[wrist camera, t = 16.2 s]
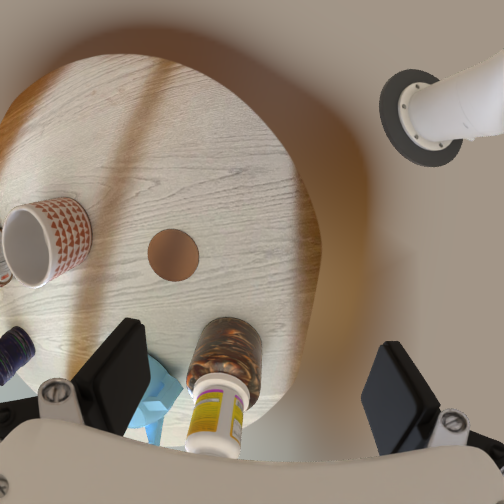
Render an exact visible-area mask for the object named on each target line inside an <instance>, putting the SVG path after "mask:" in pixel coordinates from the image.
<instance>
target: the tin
mask: <svg viewBox="0 0 504 504" xmlns="http://www.w3.org/2000/svg"><path fill="white" fill-rule="evenodd" d="M12 276H13V274H12V272H11V271H10V269H9V267H8V265H7V263H6V260H5V257H4V253H3V248H2V230H1V228H0V287H2V286H4V285H6V284H8V283H9V282H10V280H11V279H12Z"/></svg>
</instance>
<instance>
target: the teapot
mask: <svg viewBox="0 0 504 504" xmlns="http://www.w3.org/2000/svg"><path fill="white" fill-rule="evenodd" d="M148 359H149V367H150V373H151V380H150V384H149V386H148V388H147V390H146V392H145V394H144V396H143V398H142V400H141V401H140V403H139V405H138V407H137V409H136V411H135V413H134V415H133V417H132V419H131V421H130V423H129V425H128V427H127V428H141V427H144V426H145V429H146V433H147V437H148V440H149V444H152V445H156V446H160V438H161V432H162V425H163V419H164V415H165V414H166V413H167V412H168V411H169V410H170V408H171V407H172V405H173V403H174V401H175V400H176V398H177V397H178V396H179V394H180V393H181V391H182V390H183V389H184V388H183V387H182V386H181V384H180V383H179V382H178V380H177V379H175V378H174V377H172V376H170V375H169V373H168V372H167V371H166V369H165V368H164V367H163V366H162V365H161V364H160V363H159V362H158V361H157V360H155V359H154V358H153V357H151V356H149V355H148Z"/></svg>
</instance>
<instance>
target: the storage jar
mask: <svg viewBox="0 0 504 504" xmlns="http://www.w3.org/2000/svg"><path fill="white" fill-rule="evenodd" d="M34 355H35V348H34V345H33V342H32V340H31V339H30V337H29V336H28V334H27V333H26V332H25V331H24V330H23V329H22V328H20V327H18V326H15V327H13V328H12V329H11V330H9V331H7V332H6V333H5V334H4V335H3V336H2V337H1V338H0V386H3V385H4V384H5V383H6V382H7V381H8V380H10V378H12V376H14V374H15V372H16V371H17V370H18V369H19V368H20V367H22V366H24V365H25V364H26V363H27V362H28V361H29V360H30V359H31V358H32V357H33V356H34Z"/></svg>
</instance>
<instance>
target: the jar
mask: <svg viewBox="0 0 504 504" xmlns="http://www.w3.org/2000/svg"><path fill="white" fill-rule="evenodd" d="M261 371H262V344H261V339H260V337H259V335H258V333H257V332H256V330H255V329H254V328H253V327H252V326H251V325H249V324H248V323H246V322H244V321H242V320H240V319H236V318H230V317H225V318H219V319H216V320H214V321H212V322H210V323H209V324H208V325H207V326H206V327H205V328H204V330H203V331H202V333H201V336H200V338H199V341H198V344H197V346H196V349H195V352H194V355H193V357H192V360H191V363H190V366H189V369H188V373H187V379H186V384H187V389H188V392H189V394H190V395H191V397H192V398H193V400H194V402H195V403H196V400H197V397H198V395H199V393H200V392H201V391H202V390H203V389H205V388H207V387H211V386H224V387H227V388H230V389H232V390H234V391H236V392H237V393H238V394H239V395H240V396H241V398H242V400H243V403H244V410H243V413H244V412H245V411H246V410H248V409H250V408H251V407H252V406H253V405H254V404H255V403H256V401H257V400H258V397H259V394H260V389H261Z"/></svg>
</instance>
